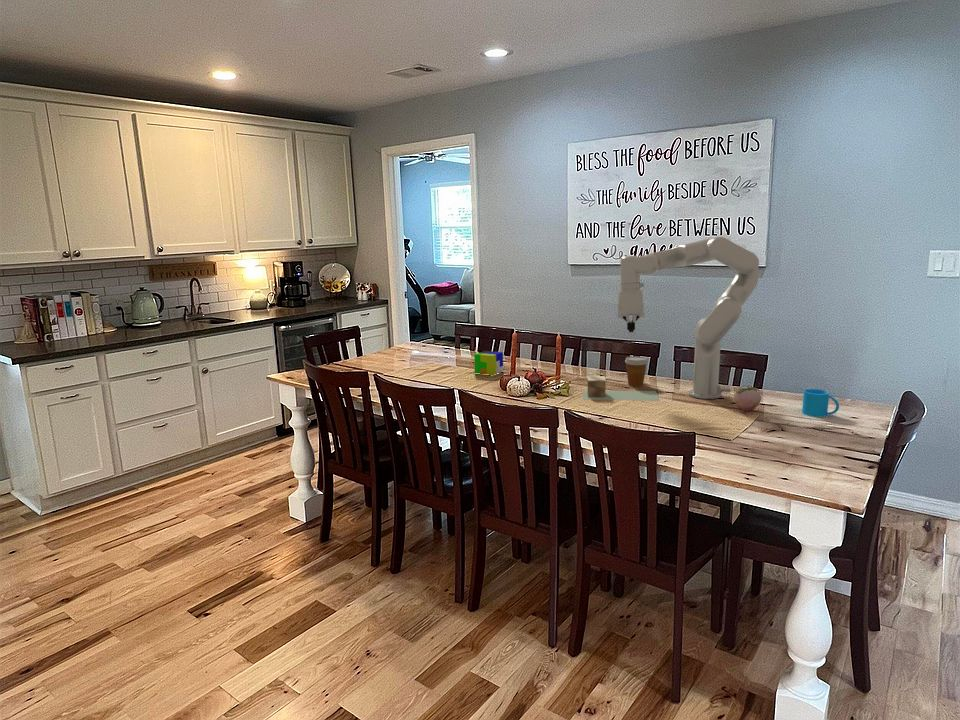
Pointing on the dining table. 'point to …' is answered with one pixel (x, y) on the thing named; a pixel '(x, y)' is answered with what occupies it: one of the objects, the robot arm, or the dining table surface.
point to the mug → (817, 403)
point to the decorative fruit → (747, 398)
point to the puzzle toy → (488, 362)
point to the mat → (625, 395)
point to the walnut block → (596, 386)
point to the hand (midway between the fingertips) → (631, 331)
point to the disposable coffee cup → (636, 370)
